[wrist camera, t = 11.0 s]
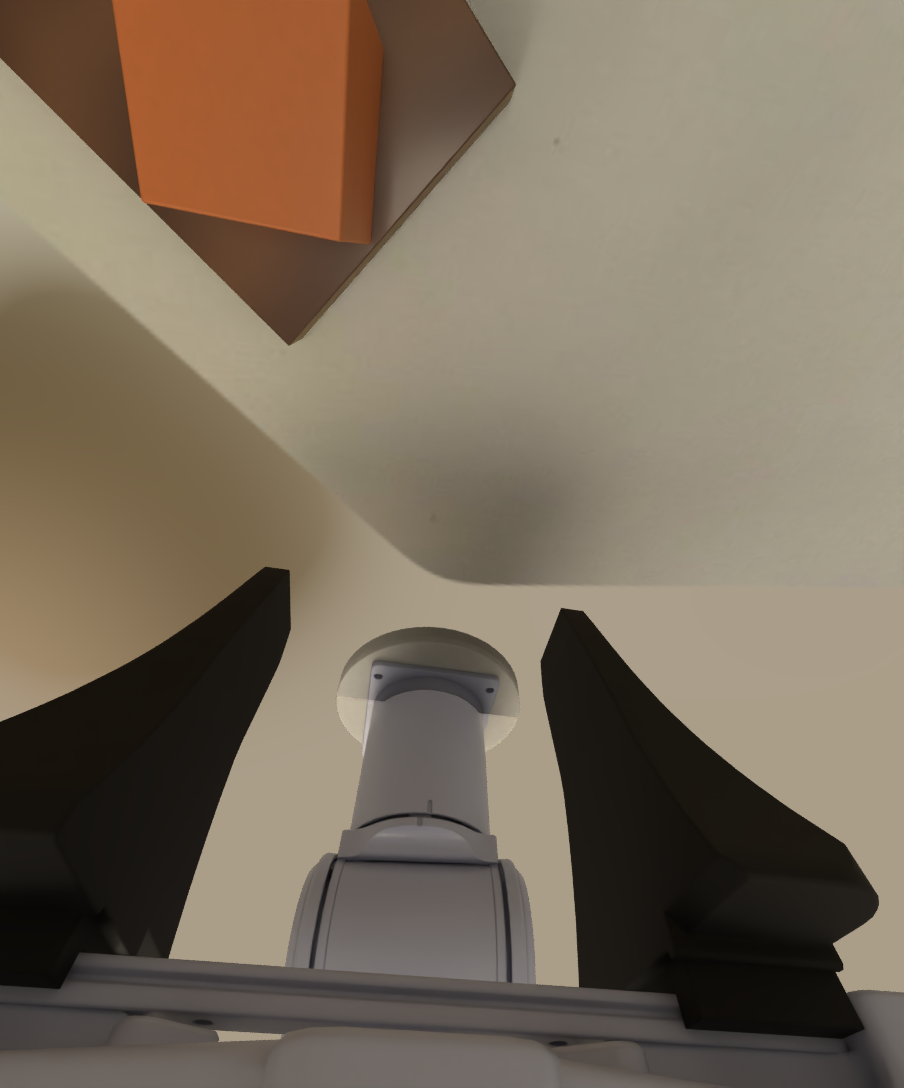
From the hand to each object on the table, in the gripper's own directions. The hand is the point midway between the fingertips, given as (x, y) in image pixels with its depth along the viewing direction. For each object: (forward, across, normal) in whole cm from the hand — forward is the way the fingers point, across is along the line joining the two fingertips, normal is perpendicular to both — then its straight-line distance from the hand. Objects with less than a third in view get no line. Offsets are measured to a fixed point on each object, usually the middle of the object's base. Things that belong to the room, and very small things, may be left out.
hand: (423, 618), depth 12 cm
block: (+8, +6, -10) cm, 14 cm away
